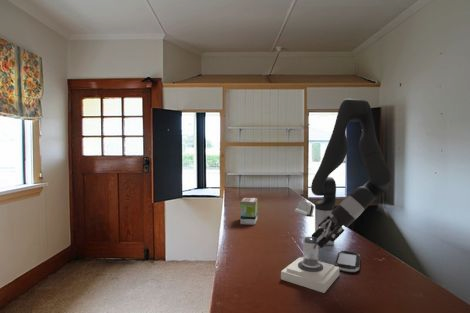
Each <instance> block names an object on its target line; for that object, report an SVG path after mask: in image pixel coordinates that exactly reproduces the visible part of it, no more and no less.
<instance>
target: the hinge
mask: <svg viewBox="0 0 470 313" xmlns="http://www.w3.org/2000/svg"><path fill="white" fill-rule="evenodd" d="M314 211H315V205H314V204H312V203H311V202H308V201H307V200H301V201H299V202H298V204H297V207H296V208H295V209H294V212H295V213H298V214H300V215H302V216H305V217H307V216H308V215H309V216H311V217H312V216H313V213H314Z"/></svg>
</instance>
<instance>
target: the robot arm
mask: <svg viewBox="0 0 470 313" xmlns="http://www.w3.org/2000/svg"><path fill="white" fill-rule="evenodd" d="M350 122H356V123H357V122H359V124H360V127H361V131H362V132H361V134H360V138H359V142H358V150H359V153H360V157H361V159H362V162H363V164H364V166H365V169H366V171H367V175H368V181H367V182H365V183H364V184H363V185H362V186H358V187H356V188H355V189H354V190H353V191H352V192H351V193H350V194H349V195H348V196H347V197H346V198H344V199H343V200H342V201H341V202H340V203H339V204H338V205H337V206H336V201H337V200H336V196H337V194H336V193H337V184H336V181H335V179H334V178H333V177H332V176H330V175H331V174H332V173H333V172H334V171H336V169H337V168H339V167H340V166H341V165H342V164H343V163H344V161H345V159H346V157H347V154H348V152H349V148H350V147H349V141H348V138H347V134H346V131H347V129H348V125H349V123H350ZM384 158H385V157H384V155H383V153H382V150H381V147H380V144H379V142H378V138H377V134H376V128H375V123H374V116H373V112H372V108H371V105H370V103H369V102H368V101H367V100H366V99H361V98H360V99H359V98H345V99H344V100H343V101H342V102H341V103H340V105H339V108H338V112H337V114H336V119H335V123H334V127H333V130H332V133H331V136H330V138H329V141H328V144H327V145H326V149H325V151H324V155H323V156H322V160H321V162H320V165H319V167H318V169H317V171H316V172H315V174H314V176H313V179H312V181H311V186H310V188H311V193H312V194H313V195H314V196H319V197H320V196H321V197H322V196H323V197H322V198H321V199H319V200H318V201H316V202H314V232H313V233H312V234H311V237H315V238H317V241H318V242H317V245H318V248H321V249H322V248H323V247H325V246H333V245H334V244H335V241H336V240H337V239H338V237H339V236H341V235H342V234H343V233H344V232H345V229H344V227H345V228H349V226H351V224H352V223H354V222H355V221H356V220H357V219H358V218H359V216H361V214H363V212H364V211H365V210H366V209H367V208H368V207H369V206H370V205H371V204H372V203H373V202H374V201H375V200H377V199H378V198H379V197H381V196H382V195H384V193H385V192H387V191H388V190H389V188H390V187H391V185H392V174H391V173H392V172H391V171H390V169H389V166H388V165H387V162H386V161H385V159H384Z"/></svg>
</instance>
